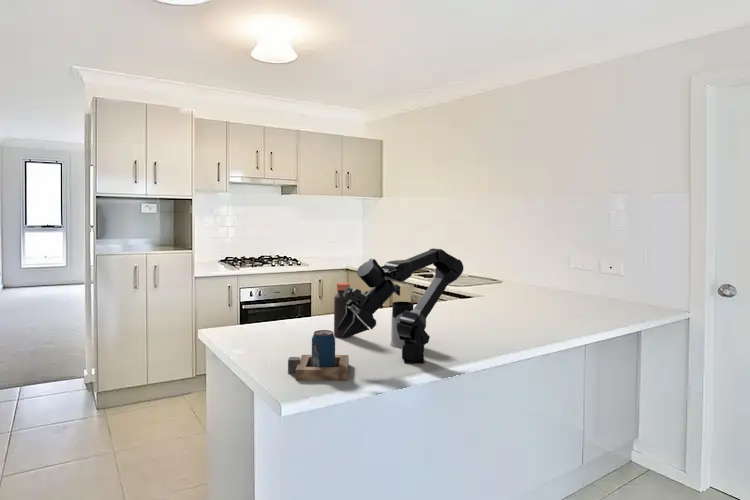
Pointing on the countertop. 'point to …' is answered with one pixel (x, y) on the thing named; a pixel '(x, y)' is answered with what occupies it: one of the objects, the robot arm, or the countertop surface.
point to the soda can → (323, 349)
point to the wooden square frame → (318, 368)
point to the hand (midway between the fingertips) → (340, 333)
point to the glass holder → (396, 314)
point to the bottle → (340, 308)
